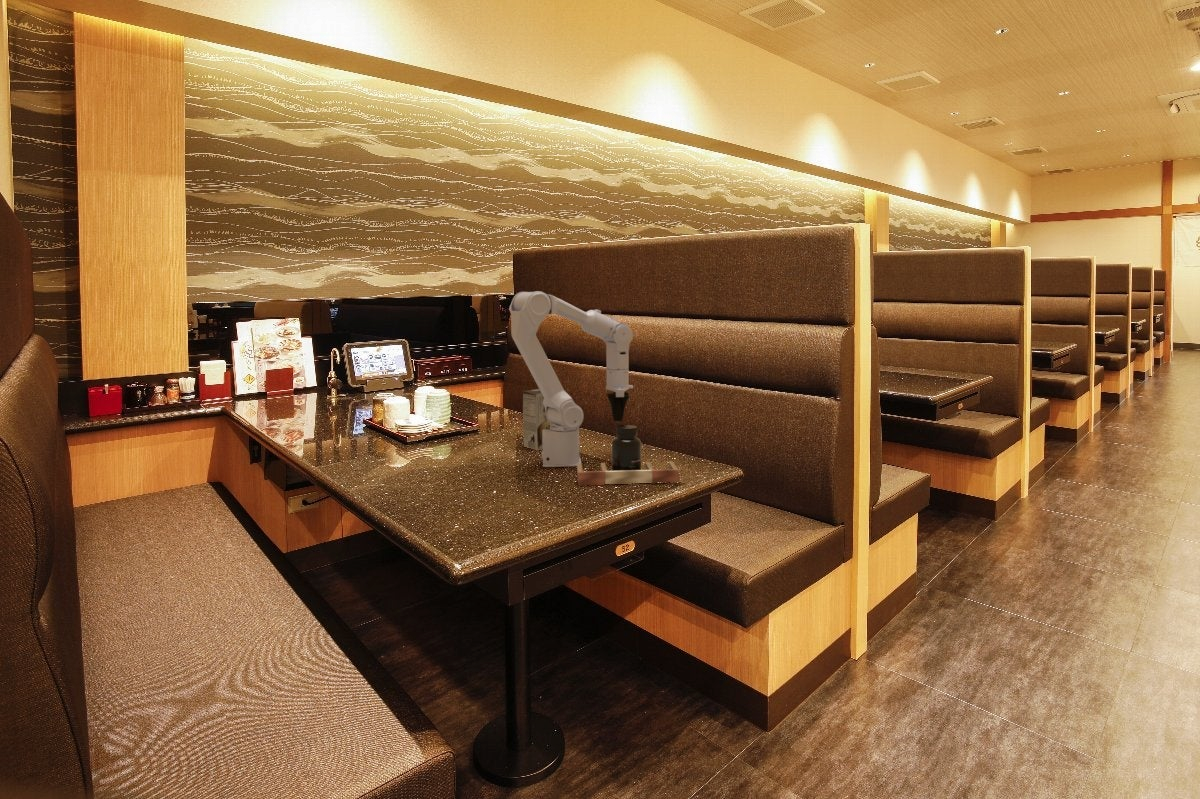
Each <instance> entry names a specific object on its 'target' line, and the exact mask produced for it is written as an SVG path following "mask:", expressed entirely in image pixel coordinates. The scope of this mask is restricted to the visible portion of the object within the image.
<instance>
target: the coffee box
mask: <svg viewBox="0 0 1200 799" xmlns="http://www.w3.org/2000/svg"><path fill="white" fill-rule="evenodd" d="M521 394H522V415H523V416H522V417H523V418H522V419H523V420H522V421H523V423H522V424H523V426H522V427H523V428H522V429H523V448H524V447H527V448H531V449H535V450H541V449H543V445H542V430H544V429H550V422H549V421H548V420H547V418H546V414H545V407H544V405H543V400H544V397H543V395H542V393H541V391H540V389H539V388H537V389H530V390H523V391H522V393H521ZM527 448H526V449H527ZM531 449H530V450H531ZM535 450H534V451H535ZM541 451H542V450H541Z"/></svg>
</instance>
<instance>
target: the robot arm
mask: <svg viewBox="0 0 1200 799" xmlns="http://www.w3.org/2000/svg"><path fill="white" fill-rule="evenodd" d="M508 310H509V313H510V318H511V321H510V322H511V327H510V328H511V329H510V330H511V331H510V332H511V334H510V335H511V337H512V340H513V341H514V343H515V346H516V347H517V349H518V351H519V353H520V355H521V356H522V358H523V361H524V362H525V365H526V366H527V368H528V370H529V372H530V373H531V376H532V377H533V379H534V381H535V383H536V385H537V388H538V389H540V391H541V393H542V395H543V397H544V400H543V405H544V407H545V414H546V418H547V420H548V421H549V422H550V429H544V430H542V445H543V450H542V451H541V459H542V467H543V468H559V467H561V468H562V467H565V468H566V467H577V463H582V458H581V457H580V426H581V425H582V423H583V422H584V416H585V415H584V411H583V409H582V408H581V407H580V405H578V404H577V403H575V401H574V400H573V398H572V396H571V395H570V394H568V393H567V391H566V390H565V389H564V387H563V386H562V384H561V382H560V379H559V377H558V376H557V374H556V371H555V370H554V368H553V366H552V364H551V362H550V360H549V358H548V355H547V354H546V352H545V350H544V347H543V346H542V344H541V343H540V342H541V341H540V340H539V339H538V337H537V333H538V330H539V327H540V326H541V325H542V323H543V321H544V320H545V319H546V317H547V316H548V315H557V316H559V317H562V318H563V319H564V318H565V319H567V320H570V321H572V322H574V323H576V324H579V325H580V328H581V330H582V331H583V332H586V333H587V334H589V335H592V336H594V337H597V338H598V339H602V341H603V342H604V343H605V345H606V351H605V353H606V356H605V357H606V358H605V359H606V385H605V390H607V391H611V392H612V393H606V397H607V398H608V402H609V403H610V408H611V415H612V418H613V419H612V420H613V421H614V422H622V421H623V418H624V413H625V408H626V404H627V402H628V400H629V397H630V395H629V392H627V391H628V390H629V389H634V385H633V384H629V380H630V379H629V377H630V374H629V372H630V371H629V368H630V366H629V364H630V362H629V361H630V360H629V359H630V358H629V352H630V344H631V342H632V340H633V338H634V333H633V332H632V329H631V327H630V326H629V324H628V323H626V322H617V319H616V318H615V317H609V316H607V315H604V314H602V310H600V309H589V310H587V311H584V310H583V309H580V308H578V307H576V306H574V305H573V304H570V303H569V302H566V301H565V300H563V299H561V298H560V297H559V298H558V297H556V296H554V295H552V294H548V293H545V292H544V291H539V290H537V291H520V292H517V293H516V294H515V295H514V296H513V298H512V300H511V303H510V305H509V308H508Z"/></svg>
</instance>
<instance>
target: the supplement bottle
mask: <svg viewBox="0 0 1200 799" xmlns="http://www.w3.org/2000/svg"><path fill="white" fill-rule="evenodd" d="M615 429H616V431H615V435H616V437H614V438H613V439H612V441H611V471H620V470H642V441H641V439H640V438H638V437H637V436H638V426H636V425H630V424H620V425H617V426H616V428H615Z"/></svg>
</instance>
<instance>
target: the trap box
mask: <svg viewBox="0 0 1200 799" xmlns="http://www.w3.org/2000/svg"><path fill="white" fill-rule="evenodd" d="M644 464H645V466H644V469H641V470H620V471H612V470H608V469H607V465H606V463H605V462H601V463H600V470H591V471H590V470H589V471H588V470H586V471H583V464H582V462H581V463H577V466H576V468H577V469H576V471H577V472H576V473H577V475H576V476H578V477H577V483H578V484H577V485H578V486H579V487H580V486H581V487H582V486H585V485H589V486H605V485H604V484H628V485H632V484H631V483H655V482H679V483H680V470H679V468H678V467H677V465H676V464H675V462H674V461H673V460H670V461H668V464H667V466H668V468H667V469H663V468H662V469H654V467H653V466H652V463H651V461H645V462H644Z"/></svg>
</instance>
